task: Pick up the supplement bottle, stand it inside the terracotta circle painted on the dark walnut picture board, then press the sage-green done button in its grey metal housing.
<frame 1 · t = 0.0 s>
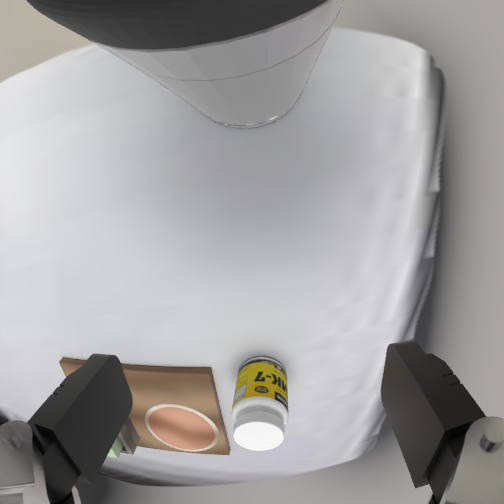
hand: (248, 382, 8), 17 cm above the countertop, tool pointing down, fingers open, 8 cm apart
done button: (102, 439, 28), point 5 cm above the countertop, slide at 0.0 cm
supplement bottle: (262, 372, 29), on the countertop
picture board: (144, 409, 31), on the countertop
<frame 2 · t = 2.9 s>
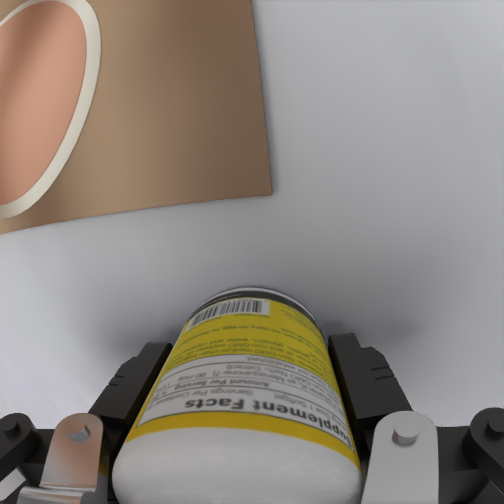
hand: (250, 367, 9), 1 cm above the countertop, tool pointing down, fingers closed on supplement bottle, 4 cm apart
supplement bottle: (253, 346, 10), on the countertop, touching gripper
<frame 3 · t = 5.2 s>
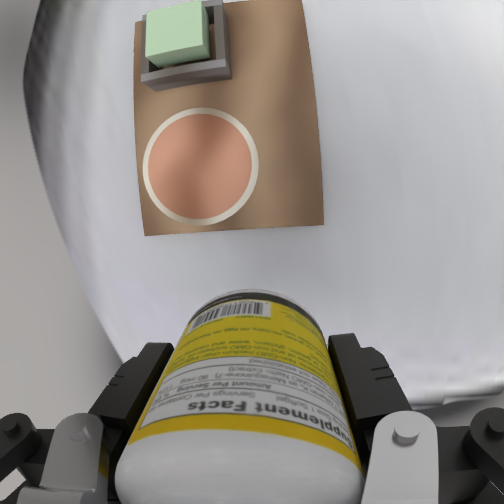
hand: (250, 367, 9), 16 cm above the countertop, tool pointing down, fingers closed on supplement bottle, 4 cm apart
done button: (178, 33, 16), point 5 cm above the countertop, slide at 0.0 cm
supplement bottle: (254, 347, 10), point 15 cm above the countertop, touching gripper
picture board: (222, 107, 22), on the countertop
when the fingers open (4 cm above the countertop, at t = 7.6 s): supplement bottle drops 1 cm, resting on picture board.
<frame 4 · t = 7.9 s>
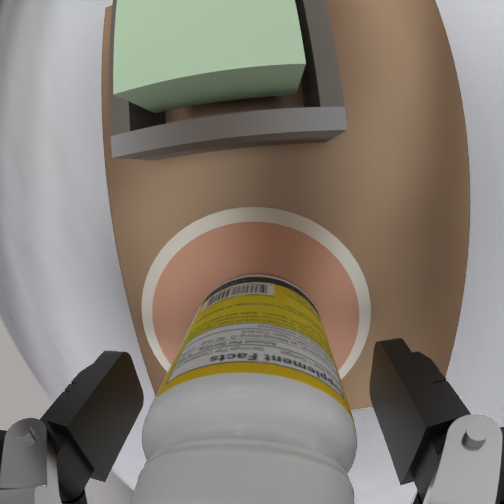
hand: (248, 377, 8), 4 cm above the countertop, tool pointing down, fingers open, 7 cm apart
done button: (209, 21, 6), point 5 cm above the countertop, slide at 0.0 cm
supplement bottle: (258, 328, 11), point 1 cm above the countertop, touching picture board
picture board: (298, 199, 11), on the countertop
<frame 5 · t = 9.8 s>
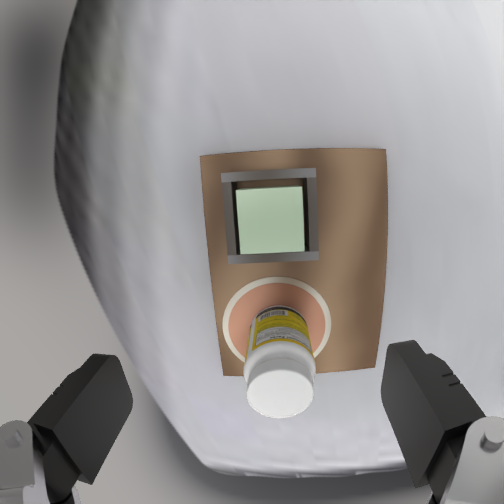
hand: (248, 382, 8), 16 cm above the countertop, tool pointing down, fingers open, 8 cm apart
done button: (271, 218, 19), point 5 cm above the countertop, slide at 0.0 cm
supplement bottle: (278, 328, 25), point 1 cm above the countertop, touching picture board
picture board: (299, 271, 24), on the countertop
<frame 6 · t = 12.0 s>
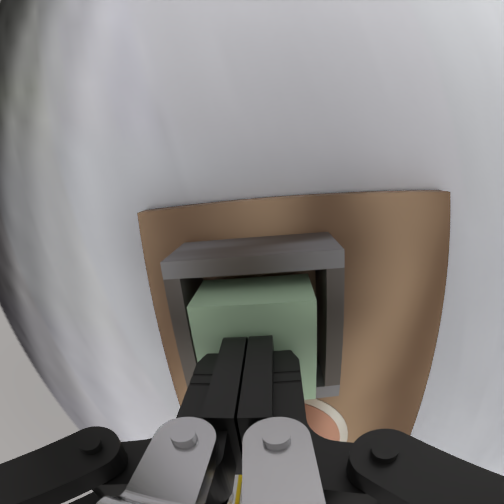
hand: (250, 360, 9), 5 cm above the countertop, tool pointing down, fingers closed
done button: (257, 339, 10), point 4 cm above the countertop, slide at 0.6 cm, touching gripper
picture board: (306, 377, 15), on the countertop
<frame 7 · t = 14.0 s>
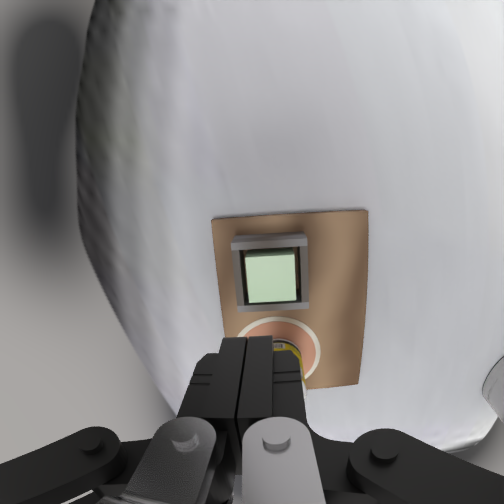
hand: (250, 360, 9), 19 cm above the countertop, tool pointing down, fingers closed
done button: (271, 274, 25), point 3 cm above the countertop, slide at 1.2 cm
supplement bottle: (278, 355, 30), point 1 cm above the countertop, touching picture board
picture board: (294, 310, 30), on the countertop
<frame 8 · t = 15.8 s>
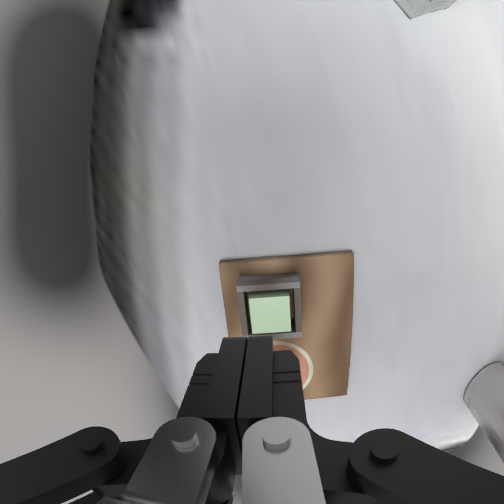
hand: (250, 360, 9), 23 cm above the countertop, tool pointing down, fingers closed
done button: (270, 310, 30), point 3 cm above the countertop, slide at 1.2 cm
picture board: (290, 335, 34), on the countertop
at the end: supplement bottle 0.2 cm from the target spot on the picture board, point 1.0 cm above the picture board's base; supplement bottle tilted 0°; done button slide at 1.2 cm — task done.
